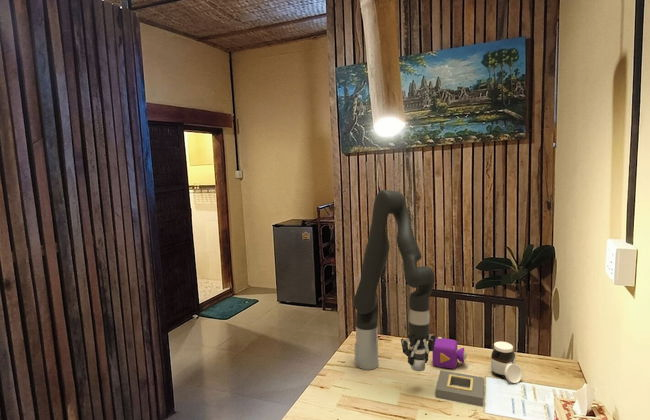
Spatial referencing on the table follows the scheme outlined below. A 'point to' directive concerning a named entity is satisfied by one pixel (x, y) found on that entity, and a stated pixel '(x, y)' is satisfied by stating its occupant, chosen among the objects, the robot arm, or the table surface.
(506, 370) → the spread jar
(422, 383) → the table surface
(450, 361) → the toy camera
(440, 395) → the mount plate
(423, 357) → the lens
